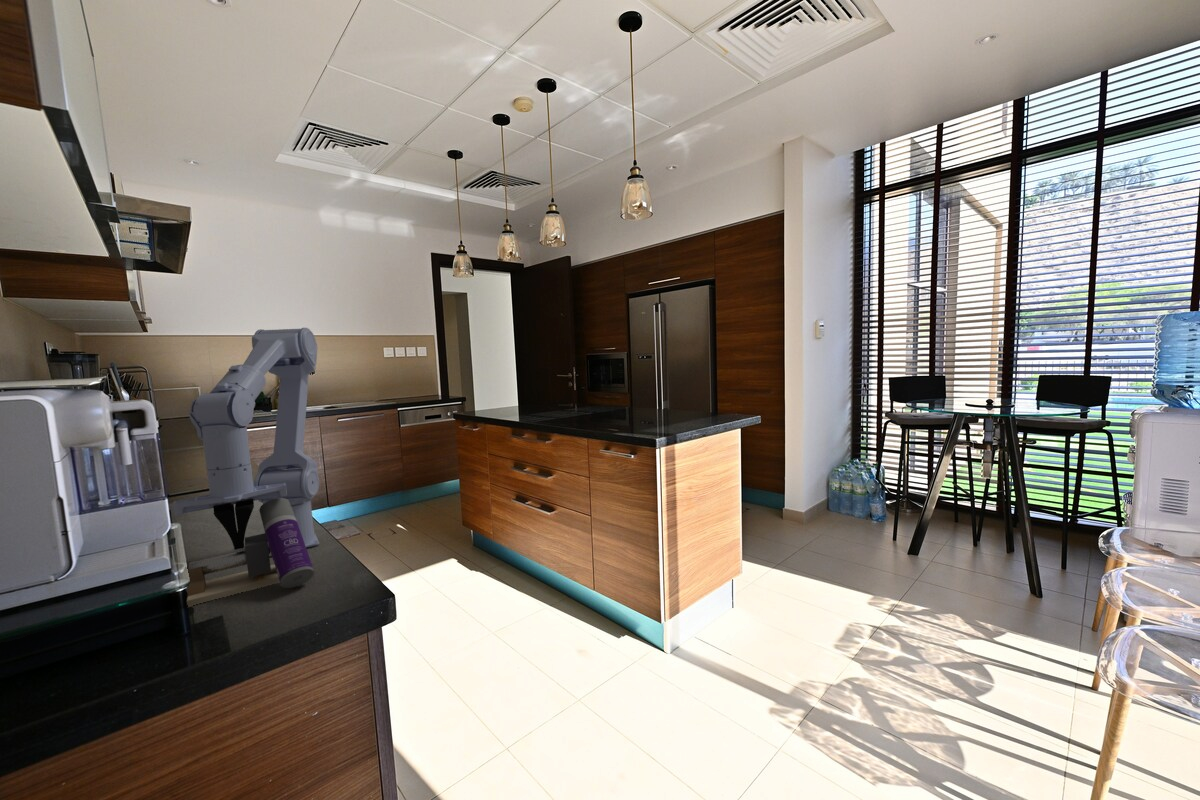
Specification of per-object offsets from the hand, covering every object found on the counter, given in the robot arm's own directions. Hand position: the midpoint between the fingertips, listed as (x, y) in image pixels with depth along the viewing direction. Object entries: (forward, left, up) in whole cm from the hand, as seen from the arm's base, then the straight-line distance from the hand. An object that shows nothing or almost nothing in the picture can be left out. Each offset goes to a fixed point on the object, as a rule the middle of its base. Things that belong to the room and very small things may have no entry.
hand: (239, 547), depth 79 cm
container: (+9, +7, -5) cm, 12 cm away
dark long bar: (0, 0, -3) cm, 3 cm away
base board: (0, 0, -6) cm, 6 cm away
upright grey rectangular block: (0, +2, -5) cm, 5 cm away
